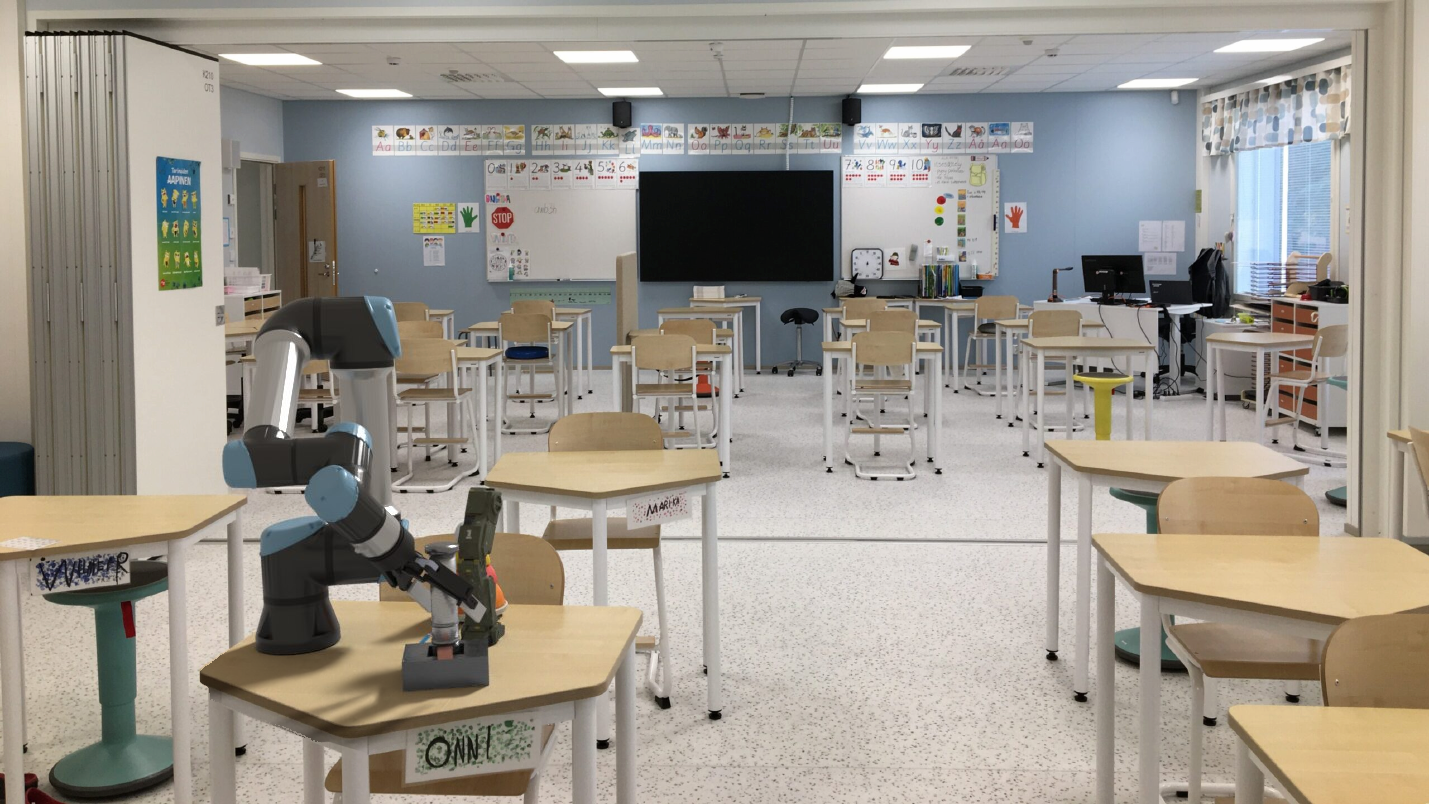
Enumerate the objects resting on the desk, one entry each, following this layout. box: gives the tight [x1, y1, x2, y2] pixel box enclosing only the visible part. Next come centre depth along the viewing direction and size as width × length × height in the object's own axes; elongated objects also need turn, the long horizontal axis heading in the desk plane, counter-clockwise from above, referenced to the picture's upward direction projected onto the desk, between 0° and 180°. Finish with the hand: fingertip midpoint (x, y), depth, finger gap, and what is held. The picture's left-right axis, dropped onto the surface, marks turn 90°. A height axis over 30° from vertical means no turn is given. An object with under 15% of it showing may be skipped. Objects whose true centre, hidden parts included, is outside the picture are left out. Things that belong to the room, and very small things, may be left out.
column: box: [424, 541, 461, 656], centre depth 196 cm, size 6×6×23 cm
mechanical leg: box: [456, 486, 506, 648], centre depth 217 cm, size 14×7×30 cm, turn 168°
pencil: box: [419, 631, 432, 643], centre depth 213 cm, size 1×17×1 cm, turn 176°
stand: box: [401, 638, 490, 693], centre depth 197 cm, size 10×14×6 cm
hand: (456, 610), depth 198 cm, fingers open, 11 cm apart
